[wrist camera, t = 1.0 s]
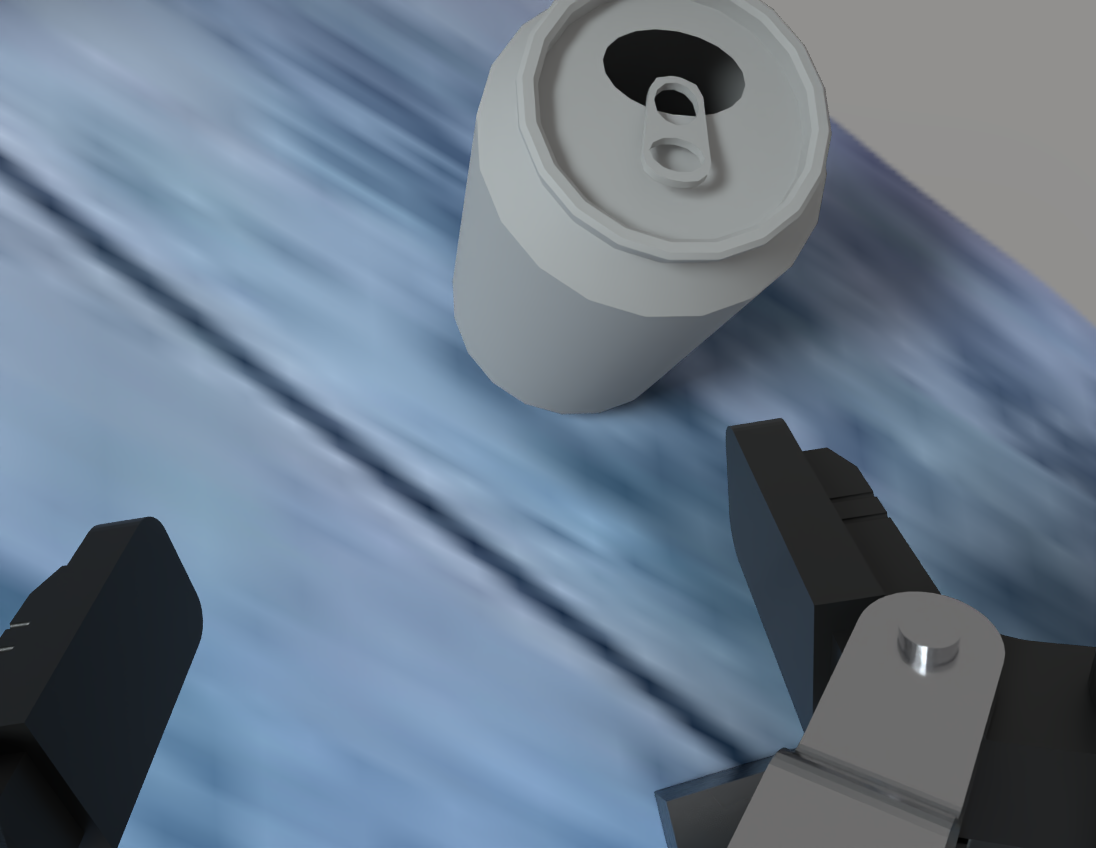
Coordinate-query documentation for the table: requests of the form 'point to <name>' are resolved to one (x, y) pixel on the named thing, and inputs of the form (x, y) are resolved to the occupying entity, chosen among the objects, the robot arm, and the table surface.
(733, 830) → the stand
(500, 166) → the can
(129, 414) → the table surface
